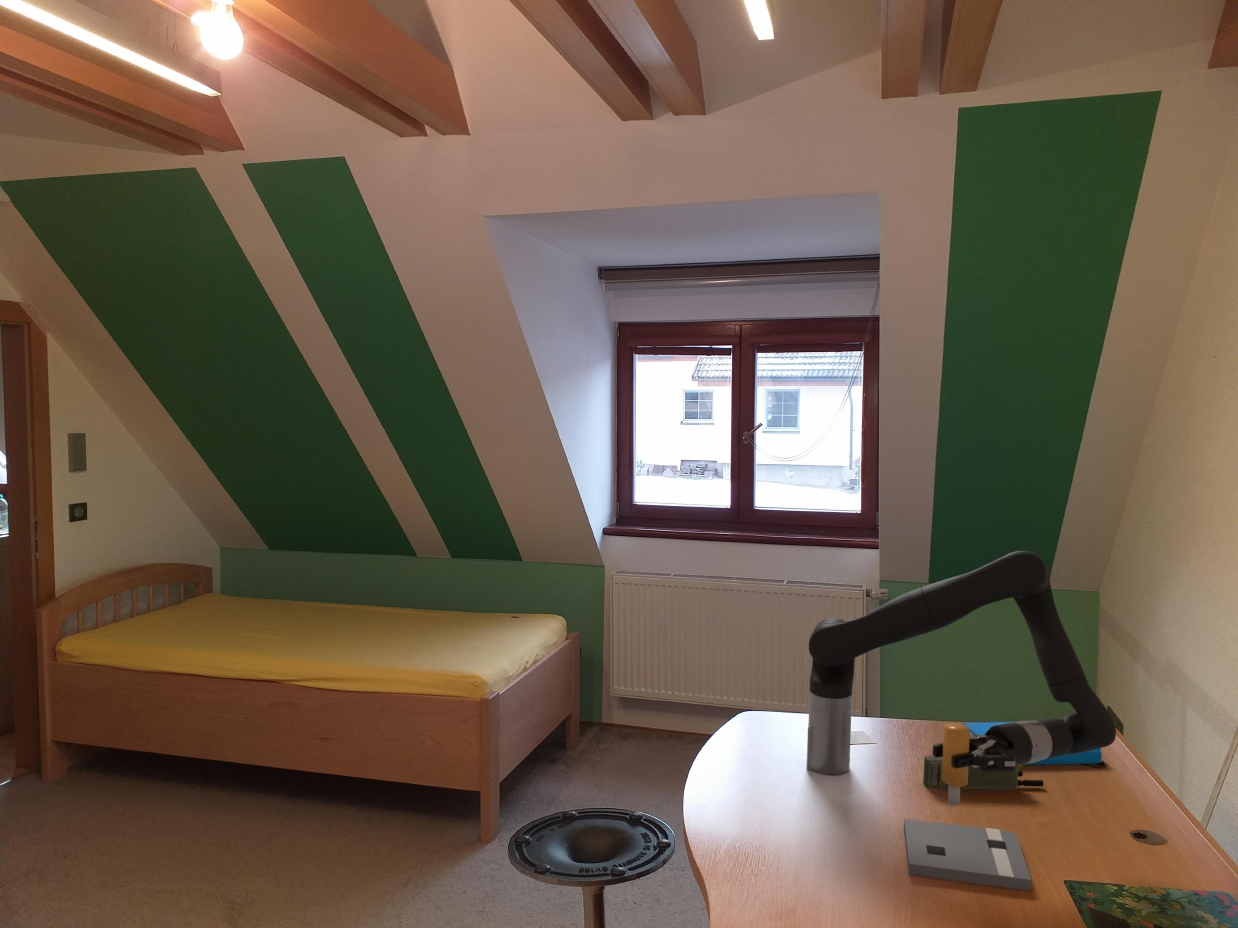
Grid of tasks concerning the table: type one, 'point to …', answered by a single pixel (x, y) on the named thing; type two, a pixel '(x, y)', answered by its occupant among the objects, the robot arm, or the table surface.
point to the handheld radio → (976, 777)
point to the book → (1078, 758)
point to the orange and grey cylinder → (953, 744)
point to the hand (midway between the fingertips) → (943, 756)
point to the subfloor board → (965, 854)
